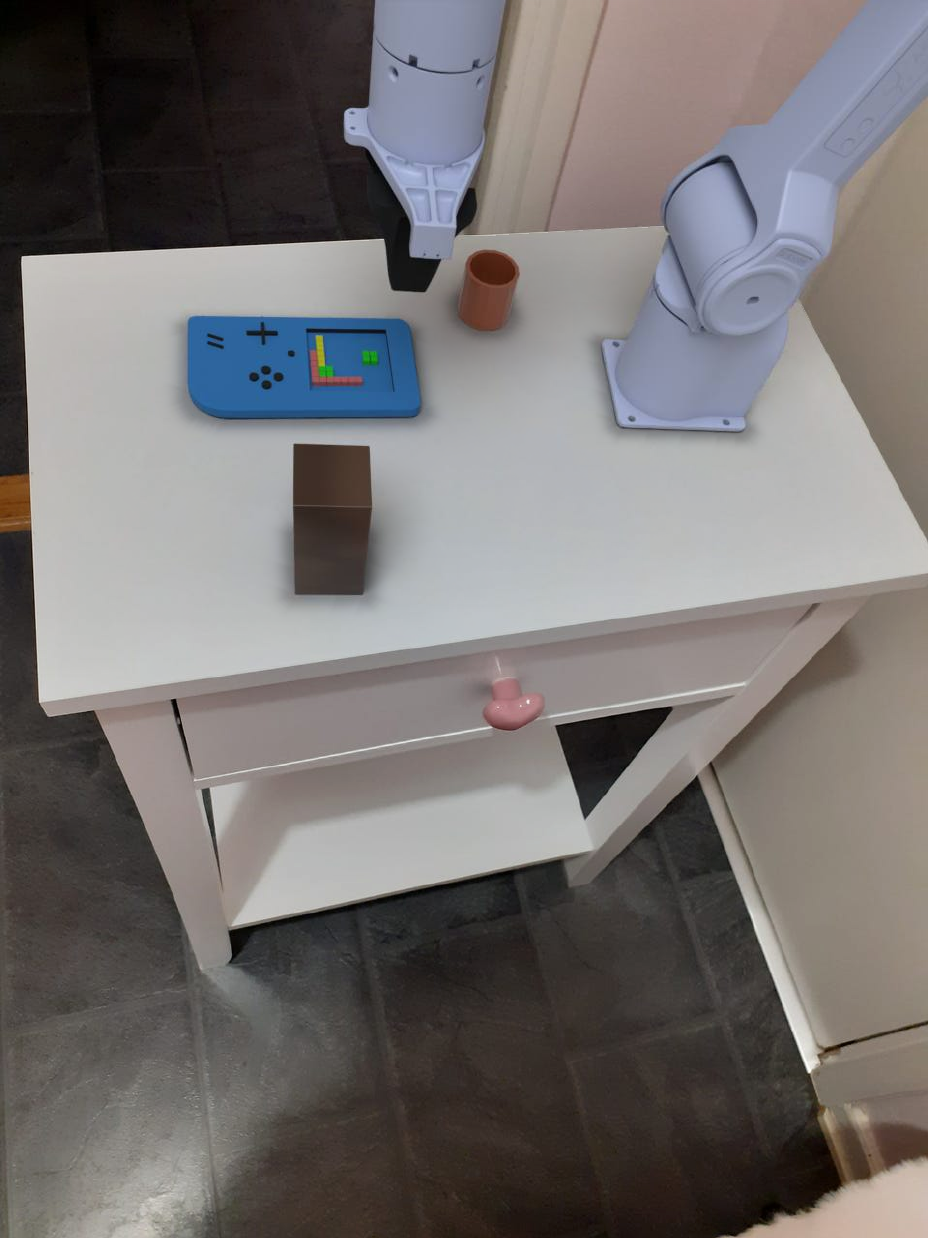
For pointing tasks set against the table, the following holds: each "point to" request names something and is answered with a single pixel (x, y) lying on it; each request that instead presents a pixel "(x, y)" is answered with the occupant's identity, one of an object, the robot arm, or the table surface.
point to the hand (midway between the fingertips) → (407, 273)
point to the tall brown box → (331, 518)
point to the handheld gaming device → (301, 367)
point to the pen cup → (488, 289)
